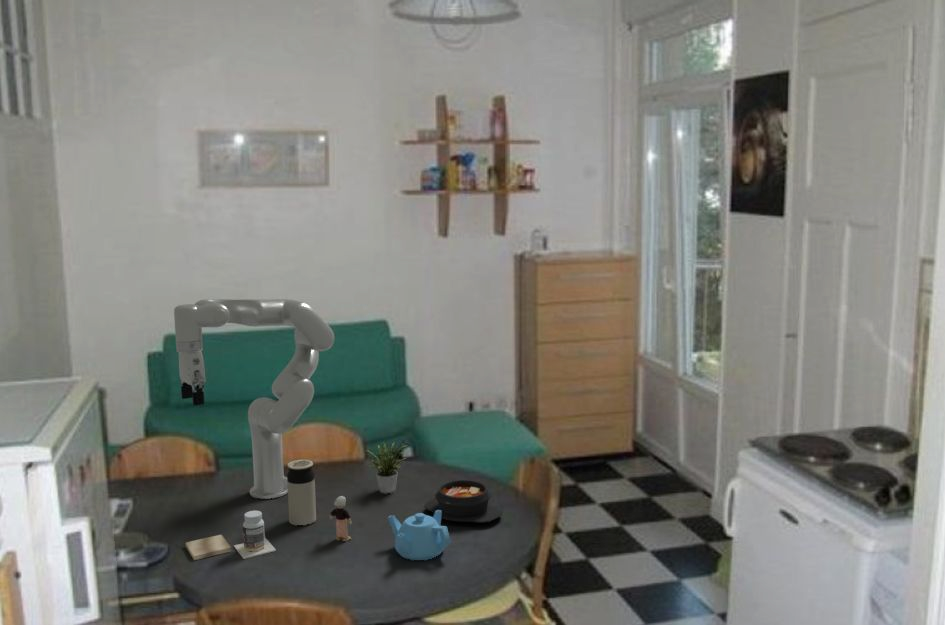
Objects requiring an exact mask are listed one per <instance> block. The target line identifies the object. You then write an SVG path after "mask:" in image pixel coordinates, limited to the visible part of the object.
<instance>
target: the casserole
mask: <svg viewBox="0 0 945 625" xmlns="http://www.w3.org/2000/svg"><path fill="white" fill-rule="evenodd" d="M490 498H492V493H491V492H490V491H489V488H488V486H487V485H485V484H484V483H482V482H480V481H475V480H469V479H468V480H467V479H464V480H463V479H461V480H452V481H448V482H447V481H446V482H445V483H442V484H441V485H440V486H439V487H438V489H437V492H436V493H435V495H434V497H433V498H432V499H430V500H428V501H427V502H426V503H425V504H424V508H425V509H426V510H428V511H430V512H432V513H433V515H434V514H435V511H437V510H441V511H442V515H441V520H442V519H443V520H446V521H451V522H462V523H463V522H464V523H465V522H466V523H467V522H468V523H478V524H481V523H483V524H485V523H489V522H491V521H495V520H496V519H498V518H500V517H501V516H502V515H503V510H502V508H500V507H499V506H496V505H494V504H493V503H491V502H489V500H490Z"/></svg>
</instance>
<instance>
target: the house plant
mask: <svg viewBox="0 0 945 625" xmlns="http://www.w3.org/2000/svg"><path fill="white" fill-rule="evenodd" d="M395 444H396V442H393V443H392V444H391V447H390V450H389V449H388V447H387V446H386V443H385V442H382V445H383V448H384V449H383V448H382V446H381V445H380V444H377V447H378V451H379V452H378V453H379V456H380V457H378V456H377V455H376V454H375V453H373V452H372V451H370V450H366V449H365V451H366V452H369V453H370V454H371V455H372V456H374V458H375V459H376V460H377V461H378V462H377V461H374V460H373V459H370V461H371V462H372V463H373V464H370V465H369V467H372V468H374V469H376V470H377V472H376V474H375V475H376V479H377V480H376V481H377V485H378V490H380V491H381V492H391V491H394V490H395V489H396V488H397V481H398V480H397V479H398V474H399V472H398V471H399V470H398V468H399V469H400V468H401V465H400V463H401V462H403V460H406V459H407V457H404V458H402V459H399V457H400V456H401V455H402V454H404V453H405V452H406V453H407V450H405V451H401V452H400V450H402V449H403V448H405V447H408V446H409V445H408V444H406V445H402V446H401V447H399V448H398V449H396V451H395V453H394V450H395ZM395 464H396V465H395ZM380 491H379V492H380ZM395 491H396V490H395Z"/></svg>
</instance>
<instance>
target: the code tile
mask: <svg viewBox="0 0 945 625" xmlns="http://www.w3.org/2000/svg"><path fill="white" fill-rule="evenodd" d="M233 547H234V548H235V550H236V551H237V552H238V554H239V555H240V556H241V558H242V559H243V560H244V559H245V560H246V559H250V558H253V557H258V556H261V555H267V554H270V553H274V552H276V551H277V550H276V548H275V547H274V546H273V545H272V543H271V542H270V541H269V540H268V538H266V537H265V546H264V548H262V549H261V550H258V551H247V550H246V549H245V548H244V542H243V543H239V544H238V543H237V544H235V545H233Z"/></svg>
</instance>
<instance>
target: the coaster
mask: <svg viewBox="0 0 945 625" xmlns="http://www.w3.org/2000/svg"><path fill="white" fill-rule="evenodd" d="M184 544H185V548H186V549H187V551H188V553H189V554H190V556H191V557H192V560H193V561H196V560H197V561H198V560H201V559H205V558H210V557H214V556H218V555H222V554H226V553H231V552H232V547H231V545H230V543H228V541H227V540H226V539H225V538H224V536H223V535H222V534H218V535H213V536H209V537H204V538H200V539H196V540H190V541H187V542H185V543H184Z"/></svg>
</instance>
